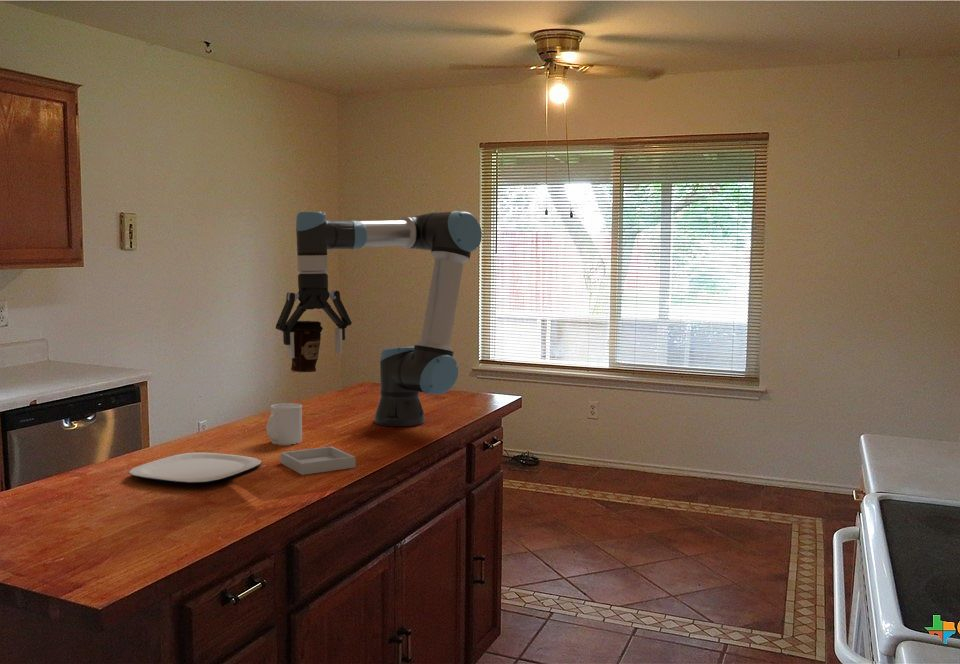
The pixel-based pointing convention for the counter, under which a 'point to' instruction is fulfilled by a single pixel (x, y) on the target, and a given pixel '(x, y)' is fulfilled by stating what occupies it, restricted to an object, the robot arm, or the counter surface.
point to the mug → (285, 424)
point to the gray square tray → (317, 460)
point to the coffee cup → (306, 345)
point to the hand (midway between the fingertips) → (315, 355)
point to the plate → (195, 467)
